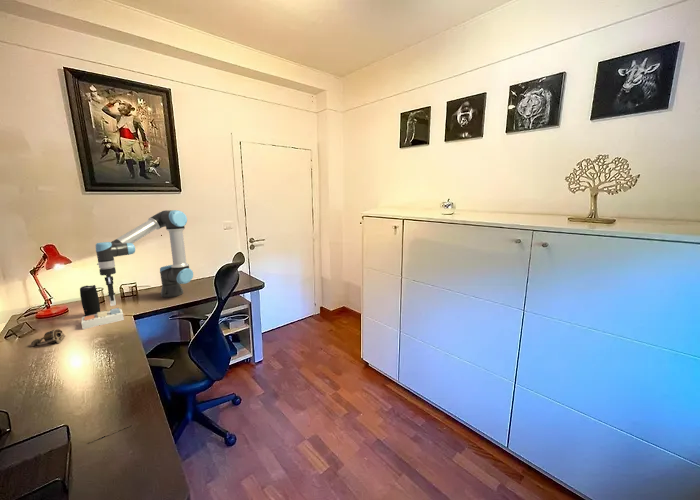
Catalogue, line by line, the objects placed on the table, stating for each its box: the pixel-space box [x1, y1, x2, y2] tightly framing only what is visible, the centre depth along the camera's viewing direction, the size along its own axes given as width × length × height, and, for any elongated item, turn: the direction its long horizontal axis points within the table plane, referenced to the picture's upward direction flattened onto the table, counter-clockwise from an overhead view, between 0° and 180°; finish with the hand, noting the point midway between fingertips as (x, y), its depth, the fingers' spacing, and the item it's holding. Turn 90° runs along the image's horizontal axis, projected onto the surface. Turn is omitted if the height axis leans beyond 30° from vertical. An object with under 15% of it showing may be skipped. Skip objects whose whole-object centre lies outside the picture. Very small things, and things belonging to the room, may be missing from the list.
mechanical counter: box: [30, 328, 66, 347], centre depth 153 cm, size 7×13×10 cm
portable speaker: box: [79, 284, 101, 316], centre depth 190 cm, size 8×9×19 cm
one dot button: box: [109, 307, 120, 315], centre depth 183 cm, size 4×4×3 cm
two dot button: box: [97, 310, 108, 317], centre depth 179 cm, size 4×4×3 cm
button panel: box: [81, 308, 125, 330], centre depth 180 cm, size 19×12×4 cm, turn 131°
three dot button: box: [83, 315, 95, 320], centre depth 176 cm, size 4×4×3 cm
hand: (113, 305), depth 182 cm, fingers closed
